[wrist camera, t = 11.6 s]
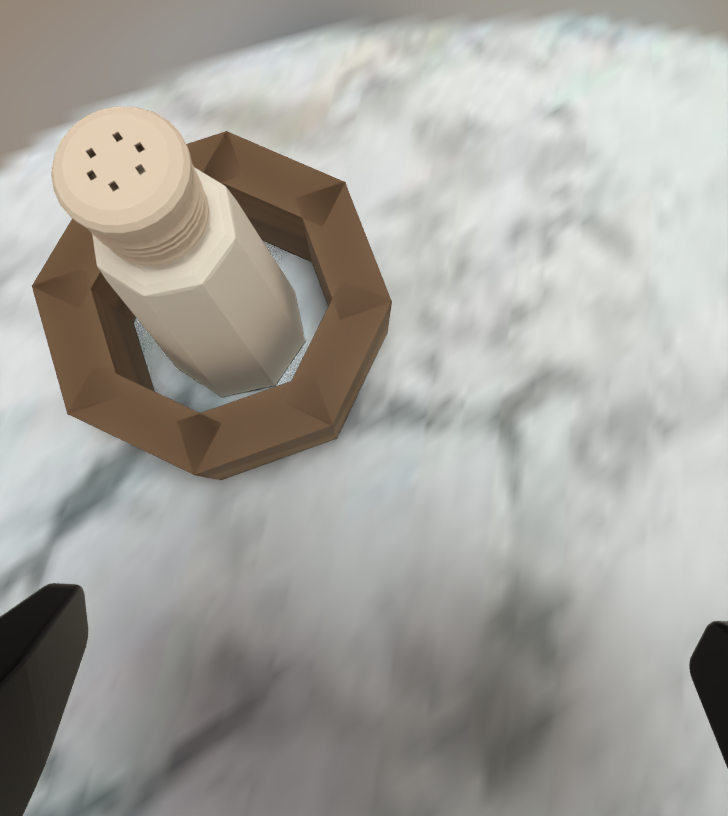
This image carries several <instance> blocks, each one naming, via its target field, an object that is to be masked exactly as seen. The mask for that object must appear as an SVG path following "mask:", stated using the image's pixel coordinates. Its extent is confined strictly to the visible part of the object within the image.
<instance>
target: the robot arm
mask: <svg viewBox="0 0 728 816" xmlns="http://www.w3.org/2000/svg"><path fill="white" fill-rule="evenodd" d="M87 639H88V622H87V613H86V604H85V595H84V591H83V589H82V587H81V586H79V585H76V584H59V583H52V584H48V585H46V586H44V587H42V588H41V589H39V590H38V591H37V592H35V593H34V594H32V595H31V596H29V597H28V598H26V599H25V600H24V601H22V602H21V603H19V604H18V605H16V606H15V607H14V608H12V609H11V610H9V611H8V612H6V613H5V614H4V615H2V616H1V617H0V816H23V814H24V812H25V809H26V807H27V805H28V803H29V801H30V799H31V796H32V794H33V792H34V790H35V788H36V785H37V783H38V781H39V778H40V776H41V774H42V771H43V769H44V767H45V764H46V761H47V758H48V756H49V753H50V750H51V748H52V745H53V742H54V739H55V736H56V733H57V730H58V727H59V724H60V721H61V718H62V715H63V713H64V710H65V707H66V704H67V701H68V698H69V695H70V692H71V689H72V686H73V683H74V680H75V677H76V674H77V672H78V669H79V666H80V663H81V660H82V657H83V654H84V651H85V648H86V644H87ZM689 666H690V674H691V677H692V680H693V682H694V685H695V688H696V690H697V693H698V695H699V698H700V700H701V703H702V705H703V708H704V710H705V713H706V715H707V718H708V720H709V723H710V725H711V728H712V730H713V733H714V735H715V738H716V740H717V743H718V745H719V748H720V750H721V753H722V755H723V758H724V760H725V763H726V765H727V768H728V621H713V622H711V623H710V624H709V625H708V626H707V627H706V629H705V631H704V633H703V635H702V637H701V639H700V640H699V642H698V644H697V646H696V648H695V650H694V652H693V654H692V656H691V658H690V664H689Z"/></svg>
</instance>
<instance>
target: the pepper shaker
mask: <svg viewBox="0 0 728 816" xmlns="http://www.w3.org/2000/svg"><path fill="white" fill-rule="evenodd" d="M51 175H52V182H53V189H54V192H55V194H56V196H57V199H58V201H59V203H60V205H61V206H62V207H63V209H64V210H65V211H66V212H67V213H68V214H69V215H70V217H71V218H72V219H74V220H75V221H76V222H77V223H79V224H80V225H82V226H84V227H85V228H87V229H88V230H89V231H90V232H91V233H92V235H93V242H94V249H95V256H96V263H97V267H98V268H99V270H100V271H101V273H102V274H103V276H104V277H105V279H106V280H107V282H108V283H109V284H110V285H111V287H112V288H113V289H114V290H115V292H116V293H117V294H118V295H119V297H120V298H121V299H122V300H123V302H124V303H125V304H126V305H127V306H128V308H129V309H130V310H131V311H132V313H133V314H134V315H135V316H136V318H137V319H138V320H139V321H140V323H141V324H142V325H143V326H144V328H145V329H146V330H147V331H148V333H149V334H150V335H151V336H152V337H153V339H154V340H155V341H156V342H157V344H158V345H159V346H160V347H161V349H162V350H163V351H164V352H165V354H166V355H167V356H168V357H169V359H170V360H171V361H172V362H173V364H174V365H175V366H176V367H177V368H178V369H179V370H181V371H182V372H184V373H186V374H187V375H189V376H190V377H192V378H193V379H195V380H196V381H198V382H199V383H201V384H203V385H204V386H206V387H207V388H209V389H210V390H212V391H213V392H215V393H216V394H218V395H220V396H221V397H223V396H227V395H232V394H237V393H242V392H246V391H251V390H256V389H260V388H265V387H270V386H275V385H276V383H277V382H278V380H279V379H280V377H281V376H282V374H283V373H284V372H285V370H286V369H287V367H288V366H289V364H290V363H291V361H292V360H293V358H294V357H295V355H296V354H297V353H298V351H299V350H300V348H301V347H302V345H303V344H304V342H305V338H304V333H303V328H302V323H301V319H300V314H299V309H298V304H297V299H296V295H295V291H294V289H293V288H292V286H291V285H290V283H289V282H288V280H287V278H286V277H285V275H284V274H283V272H282V271H281V269H280V267H279V266H278V264H277V263H276V261H275V260H274V258H273V257H272V255H271V253H270V252H269V250H268V249H267V247H266V246H265V244H264V243H263V241H262V239H261V238H260V236H259V235H258V233H257V232H256V230H255V229H254V227H253V225H252V224H251V222H250V221H249V219H248V218H247V216H246V214H245V213H244V211H243V210H242V208H241V207H240V205H239V204H238V202H237V200H236V199H235V198H234V197H233V195H232V194H231V193H230V191H229V190H228V189H227V188H226V186H224V185H223V184H221V183H219V182H218V181H216V180H214V179H213V178H211V177H209V176H208V175H206V174H204V173H203V172H201V171H199V170H198V169H196V168H195V167H194V166H193V164H192V161H191V156H190V152H189V150H188V147H187V145H186V143H185V141H184V139H183V137H182V135H181V133H180V132H179V131H178V130H177V129H176V128H175V127H174V126H173V125H172V124H171V123H170V122H169V121H168V120H166V119H165V118H163V117H161V116H160V115H158V114H156V113H155V112H151V111H148V110H144V109H141V108H137V107H113V108H108V109H102V110H99V111H97V112H95V113H93V114H90V115H88V116H86V117H84V118H83V119H82V120H80V121H79V122H78V123H76V124H75V125H74V126H72V128H71V129H70V130H69V131H68V132H67V134H66V135H65V136H64V137H63V139H62V140H61V142H60V144H59V147H58V149H57V151H56V153H55V156H54V160H53V167H52V173H51Z"/></svg>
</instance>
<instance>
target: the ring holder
mask: <svg viewBox="0 0 728 816" xmlns="http://www.w3.org/2000/svg"><path fill="white" fill-rule="evenodd" d="M186 145H187V147H188V150H189V152H190V156H191V161H192V164H193V166H194V167H195V168H196V169H198V170H199V171H201V172H203V173H204V174H206V175H208V176H209V177H211V178H213V179H214V180H216V181H218V182H219V183H221V184H223V185H224V186H226V188H227V189H228V190H229V191H230V193H231V194H232V195H233V197H234V198H235V199H236V200H237V202H238V204H239V205H240V207H241V208H242V210H243V211H244V213H245V214H246V216H247V218H248V219H249V221H250V222H251V224H252V225H253V227H254V229H255V230H256V232H257V233H258V235H259V236H260V238H261V239H262V240H264V241H266V242H268V243H270V244H273V245H275V246H277V247H279V248H282V249H284V250H286V251H288V252H291V253H293V254H295V255H297V256H300V257H302V258H304V259H306V260H309V261H311V262H312V264H313V267H314V269H315V272H316V275H317V278H318V280H319V283H320V286H321V288H322V291H323V294H324V297H325V299H326V302H327V305H328V309H327V311H326V313H325V315H324V317H323V319H322V321H321V323H320V325H319V327H318V329H317V331H316V333H315V335H314V337H313V339H312V341H311V343H310V345H309V347H308V349H307V351H306V353H305V355H304V357H303V359H302V361H301V363H300V365H299V367H298V369H297V371H296V373H295V375H294V377H293V379H292V381H290V382H287V383H285V384H282V385H279V386H276V387H273V388H270V389H268V390H265V391H262V392H259V393H256V394H253V395H251V396H248V397H245V398H242V399H239V400H236V401H234V402H231V403H228V404H225V405H222V406H219V407H217V408H214V409H211V410H208V411H205V412H202V413H198V412H196V411H194V410H192V409H190V408H188V407H186V406H184V405H182V404H179V403H177V402H175V401H173V400H171V399H169V398H167V397H165V396H162V395H160V394H158V393H156V392H154V388H153V385H152V382H151V379H150V375H149V372H148V369H147V366H146V362H145V359H144V356H143V353H142V349H141V346H140V343H139V340H138V336H137V333H136V330H135V327H134V323H133V322H134V320H135V318H136V316H135V315H134V314H133V313H132V311H131V310H130V309H129V308H128V306H127V305H126V304H125V303H124V302H123V300H122V299H121V298H120V297H119V295H118V294H117V293H116V292H115V290H114V289H113V288H112V287H111V285H110V284H109V283H108V282H107V280H106V279H105V277H104V276H103V274H102V273H101V271H100V270H99V268H98V267H97V263H96V256H95V249H94V242H93V235H92V233H91V232H90V231H89V230H88V229H87V228H85V227H84V226H82V225H80V224H79V223H77V222H76V221H75V220H74V219H72V220H71V222H70V223H69V225H68V227H67V228H66V230H65V232H64V233H63V235H62V237H61V238H60V240H59V242H58V243H57V245H56V247H55V248H54V250H53V252H52V253H51V255H50V257H49V258H48V260H47V262H46V263H45V265H44V267H43V268H42V270H41V272H40V273H39V275H38V277H37V278H36V280H35V282H34V283H33V285H32V288H33V292H34V296H35V299H36V303H37V306H38V310H39V314H40V317H41V321H42V324H43V328H44V331H45V335H46V339H47V342H48V346H49V349H50V353H51V357H52V360H53V364H54V367H55V371H56V375H57V378H58V382H59V385H60V389H61V393H62V396H63V400H64V403H65V407H66V411H67V414H68V415H71V416H73V417H75V418H77V419H79V420H81V421H83V422H85V423H87V424H90V425H92V426H94V427H96V428H98V429H100V430H102V431H104V432H106V433H108V434H110V435H112V436H115V437H117V438H119V439H121V440H123V441H125V442H127V443H129V444H131V445H133V446H135V447H137V448H140V449H142V450H144V451H146V452H148V453H150V454H152V455H154V456H156V457H158V458H160V459H162V460H165V461H167V462H169V463H171V464H173V465H175V466H177V467H179V468H181V469H183V470H185V471H187V472H190V473H192V474H193V475H196V476H202V477H208V478H213V479H219V480H223V479H225V478H228V477H231V476H234V475H236V474H239V473H242V472H245V471H248V470H250V469H253V468H256V467H259V466H261V465H264V464H267V463H270V462H272V461H275V460H278V459H281V458H284V457H286V456H289V455H292V454H295V453H297V452H300V451H303V450H306V449H309V448H311V447H314V446H317V445H320V444H322V443H325V442H328V441H331V440H333V439H337V437H338V435H339V433H340V431H341V429H342V427H343V424H344V422H345V420H346V418H347V416H348V414H349V412H350V410H351V408H352V406H353V404H354V401H355V399H356V397H357V395H358V393H359V391H360V389H361V387H362V385H363V383H364V380H365V378H366V376H367V374H368V372H369V370H370V368H371V366H372V364H373V362H374V360H375V357H376V355H377V353H378V351H379V349H380V347H381V345H382V343H383V341H384V339H385V336H386V334H387V332H388V325H389V318H390V311H391V304H392V301H391V299H390V296H389V293H388V291H387V288H386V286H385V283H384V281H383V278H382V276H381V273H380V270H379V268H378V265H377V263H376V260H375V258H374V255H373V252H372V250H371V247H370V245H369V242H368V240H367V237H366V235H365V232H364V229H363V227H362V224H361V222H360V219H359V217H358V214H357V212H356V209H355V206H354V204H353V201H352V199H351V196H350V194H349V191H348V188H347V186H346V182H344V181H341V180H339V179H337V178H334V177H332V176H330V175H327V174H325V173H323V172H320V171H318V170H316V169H313V168H311V167H309V166H306V165H304V164H302V163H299V162H297V161H295V160H292V159H290V158H288V157H285V156H283V155H281V154H278V153H276V152H274V151H271V150H269V149H267V148H265V147H262V146H260V145H258V144H255V143H253V142H251V141H248V140H246V139H244V138H241V137H239V136H237V135H234V134H232V133H230V132H227V131H226V132H223V133H220V134H217V135H213V136H210V137H207V138H204V139H201V140H198V141H195V142H192V143H189V144H186Z"/></svg>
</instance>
